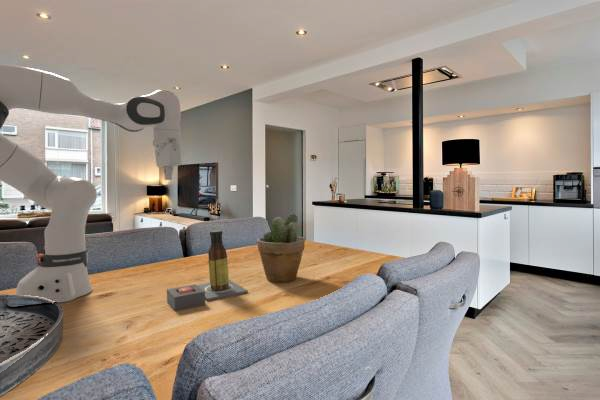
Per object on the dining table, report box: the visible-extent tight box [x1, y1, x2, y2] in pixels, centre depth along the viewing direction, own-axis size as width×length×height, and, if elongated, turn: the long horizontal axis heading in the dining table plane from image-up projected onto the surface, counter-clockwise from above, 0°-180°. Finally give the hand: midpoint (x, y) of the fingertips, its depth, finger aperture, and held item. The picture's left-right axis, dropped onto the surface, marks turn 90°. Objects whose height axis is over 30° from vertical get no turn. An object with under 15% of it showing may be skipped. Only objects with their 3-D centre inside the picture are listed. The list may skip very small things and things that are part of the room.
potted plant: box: [256, 212, 306, 284], centre depth 130 cm, size 18×19×25 cm
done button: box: [178, 287, 193, 294], centre depth 104 cm, size 4×4×3 cm
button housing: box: [166, 284, 206, 311], centre depth 104 cm, size 9×9×4 cm
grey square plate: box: [196, 279, 249, 302], centre depth 117 cm, size 14×16×1 cm
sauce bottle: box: [207, 229, 230, 290], centre depth 116 cm, size 7×6×20 cm
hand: (168, 180), depth 117 cm, fingers closed
